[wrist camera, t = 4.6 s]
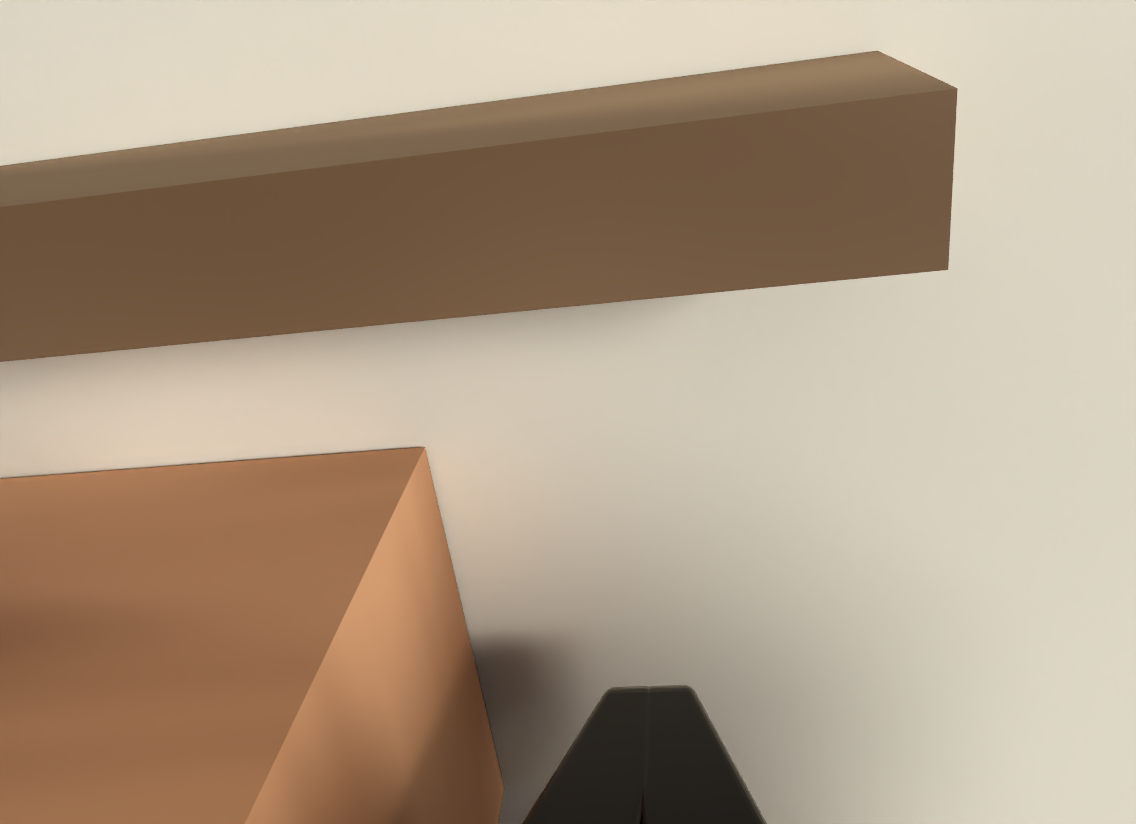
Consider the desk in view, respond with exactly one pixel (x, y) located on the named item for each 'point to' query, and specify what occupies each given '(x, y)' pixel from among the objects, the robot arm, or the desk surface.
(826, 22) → the desk surface
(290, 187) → the lane walls
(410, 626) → the wooden cube
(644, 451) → the desk surface
